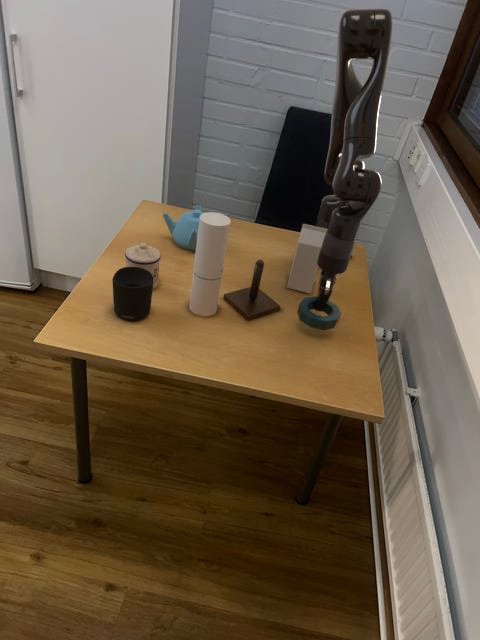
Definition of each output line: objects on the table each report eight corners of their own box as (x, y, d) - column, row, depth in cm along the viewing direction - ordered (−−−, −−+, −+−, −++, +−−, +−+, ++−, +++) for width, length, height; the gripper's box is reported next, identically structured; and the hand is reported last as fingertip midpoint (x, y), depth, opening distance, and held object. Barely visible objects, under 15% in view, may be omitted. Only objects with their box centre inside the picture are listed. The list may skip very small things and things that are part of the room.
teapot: (189, 258, 140) (193, 226, 134) (159, 237, 148) (161, 205, 142) (226, 247, 150) (231, 216, 144) (196, 228, 158) (199, 198, 151)
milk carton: (310, 294, 135) (327, 234, 124) (286, 288, 136) (301, 228, 124) (312, 282, 141) (329, 224, 130) (289, 276, 141) (304, 218, 130)
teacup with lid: (157, 293, 123) (160, 254, 116) (122, 290, 122) (122, 250, 115) (161, 270, 132) (163, 233, 126) (128, 266, 131) (129, 229, 124)
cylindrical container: (220, 305, 123) (235, 217, 109) (210, 319, 117) (224, 228, 103) (195, 297, 124) (206, 209, 110) (184, 310, 119) (194, 220, 104)
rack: (254, 289, 132) (263, 246, 124) (279, 310, 126) (290, 266, 118) (223, 298, 126) (230, 253, 118) (247, 320, 119) (257, 275, 112)
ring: (317, 301, 127) (319, 292, 125) (346, 323, 120) (349, 314, 119) (288, 311, 121) (291, 302, 119) (317, 334, 114) (320, 325, 113)
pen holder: (104, 309, 114) (104, 274, 108) (135, 296, 120) (136, 262, 114) (128, 328, 110) (129, 292, 104) (159, 313, 116) (161, 279, 110)
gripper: (322, 234, 119) (306, 291, 129) (320, 259, 108) (302, 319, 118) (351, 241, 119) (333, 297, 129) (351, 267, 108) (331, 326, 118)
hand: (318, 307), depth 124 cm, fingers closed on ring, 2 cm apart
